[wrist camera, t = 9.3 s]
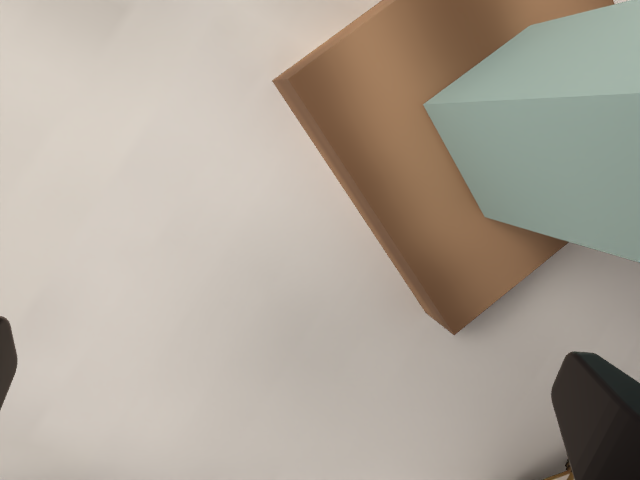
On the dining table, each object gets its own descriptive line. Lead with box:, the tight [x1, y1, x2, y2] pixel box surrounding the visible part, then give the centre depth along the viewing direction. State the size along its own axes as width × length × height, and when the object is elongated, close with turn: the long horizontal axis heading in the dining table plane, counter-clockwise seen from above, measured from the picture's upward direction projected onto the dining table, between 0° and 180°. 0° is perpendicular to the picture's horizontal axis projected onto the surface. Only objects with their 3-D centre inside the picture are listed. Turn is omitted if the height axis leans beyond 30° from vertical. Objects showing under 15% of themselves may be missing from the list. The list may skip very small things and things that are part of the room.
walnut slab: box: [272, 0, 614, 335], centre depth 22 cm, size 12×12×3 cm
